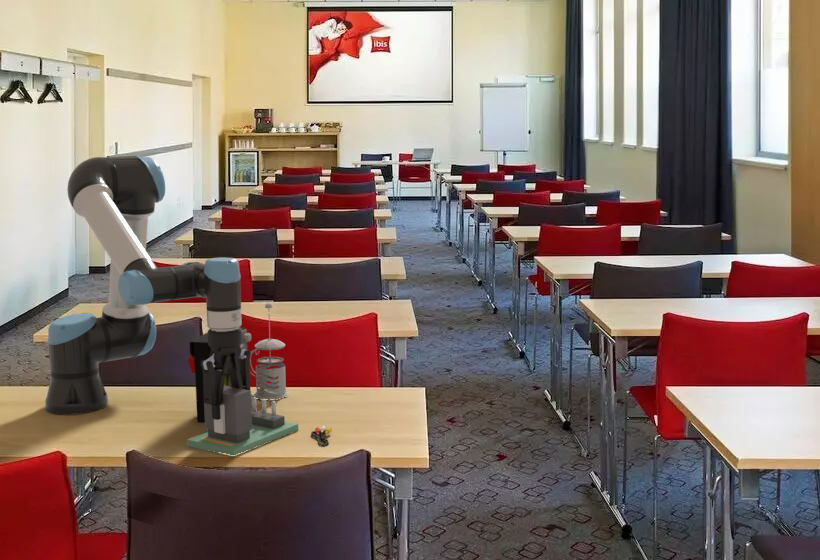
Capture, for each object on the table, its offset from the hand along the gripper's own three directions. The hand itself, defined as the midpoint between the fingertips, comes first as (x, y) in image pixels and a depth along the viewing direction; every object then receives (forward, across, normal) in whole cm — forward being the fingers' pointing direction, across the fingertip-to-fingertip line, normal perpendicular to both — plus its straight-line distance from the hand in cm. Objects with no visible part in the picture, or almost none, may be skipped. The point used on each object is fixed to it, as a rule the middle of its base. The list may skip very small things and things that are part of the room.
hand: (228, 428), depth 214 cm
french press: (+4, +35, +19) cm, 40 cm away
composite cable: (+4, +14, -15) cm, 21 cm away
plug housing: (0, 0, 0) cm, 0 cm away
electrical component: (+4, +17, +18) cm, 25 cm away
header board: (+4, +5, 0) cm, 6 cm away
